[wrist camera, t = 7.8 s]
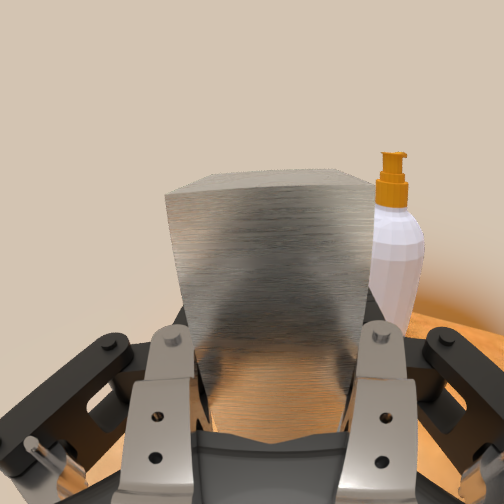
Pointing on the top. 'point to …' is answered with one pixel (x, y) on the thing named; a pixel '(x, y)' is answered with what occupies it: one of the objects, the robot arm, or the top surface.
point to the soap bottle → (395, 245)
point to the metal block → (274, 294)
